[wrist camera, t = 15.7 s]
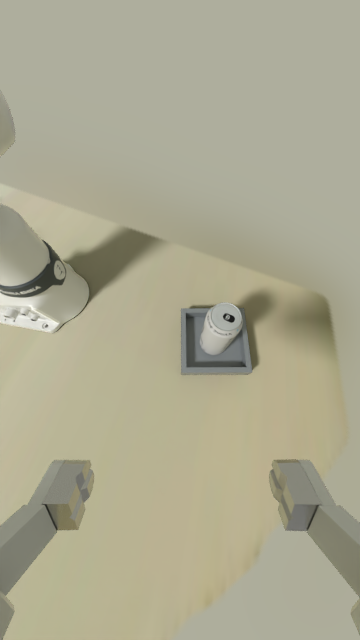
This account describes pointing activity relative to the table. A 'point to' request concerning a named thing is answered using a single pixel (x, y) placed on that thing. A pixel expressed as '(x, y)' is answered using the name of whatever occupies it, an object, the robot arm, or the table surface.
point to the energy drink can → (220, 328)
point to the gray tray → (202, 363)
